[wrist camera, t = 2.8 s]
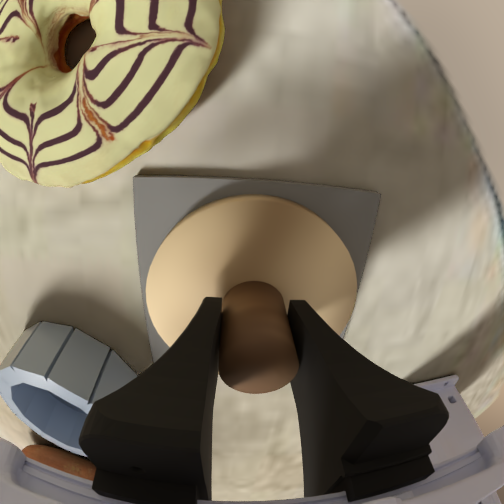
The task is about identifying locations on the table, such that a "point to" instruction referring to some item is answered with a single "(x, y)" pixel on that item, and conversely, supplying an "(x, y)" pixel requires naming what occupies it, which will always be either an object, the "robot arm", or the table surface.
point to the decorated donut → (99, 82)
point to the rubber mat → (213, 188)
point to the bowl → (59, 380)
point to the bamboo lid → (251, 282)
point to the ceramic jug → (61, 460)
